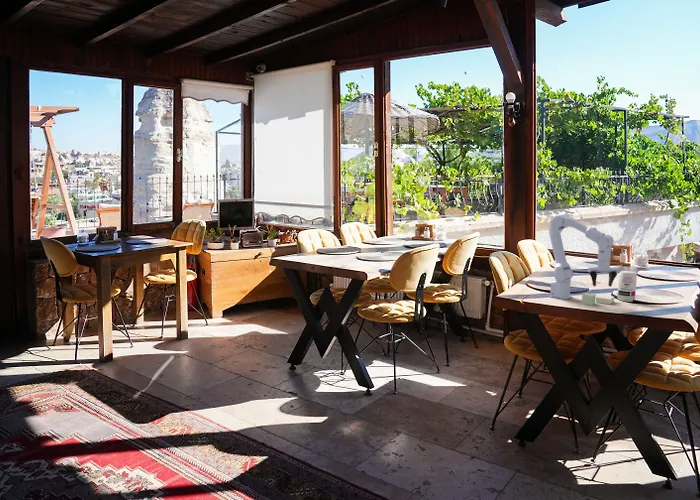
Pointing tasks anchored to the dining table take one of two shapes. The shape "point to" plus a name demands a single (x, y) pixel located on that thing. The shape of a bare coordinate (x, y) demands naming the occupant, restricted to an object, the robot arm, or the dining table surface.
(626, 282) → the supplement can
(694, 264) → the dining table surface
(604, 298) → the cream box
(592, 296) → the green cube
